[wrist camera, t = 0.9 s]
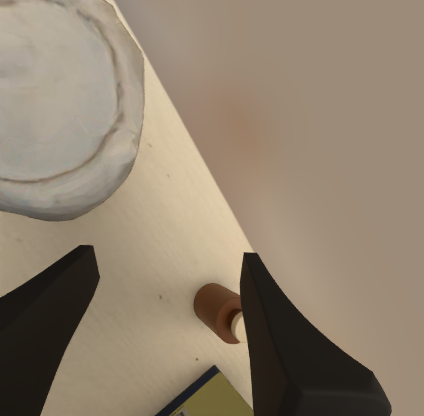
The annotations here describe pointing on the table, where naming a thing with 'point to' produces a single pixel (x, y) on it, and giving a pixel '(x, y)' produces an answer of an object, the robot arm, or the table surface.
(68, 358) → the table surface
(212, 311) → the brown bottle
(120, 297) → the table surface
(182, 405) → the protein box
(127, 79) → the spray can
